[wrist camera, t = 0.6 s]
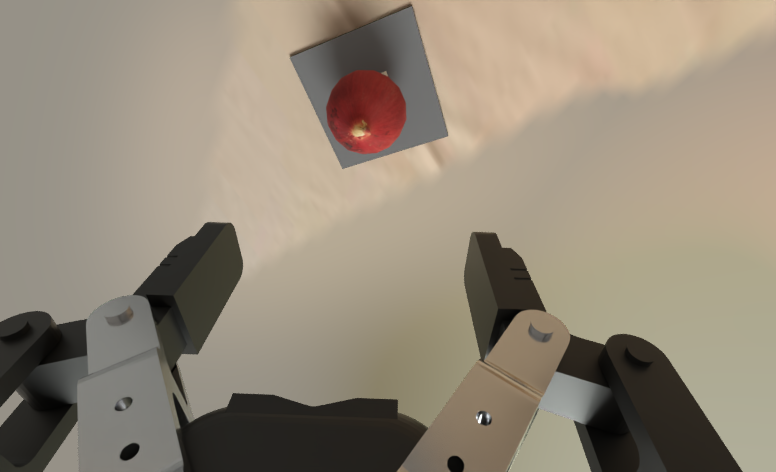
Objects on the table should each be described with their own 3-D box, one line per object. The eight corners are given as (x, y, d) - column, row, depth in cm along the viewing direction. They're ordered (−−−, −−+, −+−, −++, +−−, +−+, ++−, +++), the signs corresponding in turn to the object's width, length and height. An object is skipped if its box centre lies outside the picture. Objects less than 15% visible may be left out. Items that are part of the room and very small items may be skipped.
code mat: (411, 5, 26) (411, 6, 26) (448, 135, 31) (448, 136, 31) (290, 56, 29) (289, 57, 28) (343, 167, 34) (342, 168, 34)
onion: (375, 146, 32) (362, 191, 26) (323, 100, 30) (295, 136, 24) (422, 97, 29) (421, 134, 23) (368, 42, 27) (350, 66, 21)
